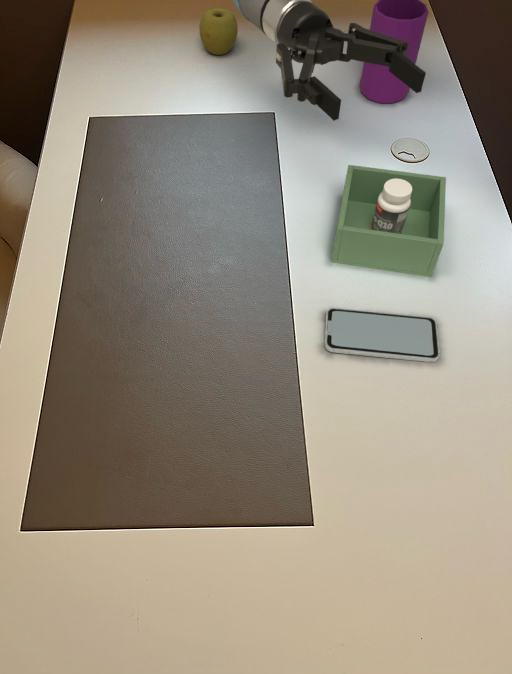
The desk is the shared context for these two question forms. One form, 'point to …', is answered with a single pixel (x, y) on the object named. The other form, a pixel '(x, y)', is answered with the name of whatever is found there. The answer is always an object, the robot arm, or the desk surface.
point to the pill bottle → (392, 206)
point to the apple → (218, 30)
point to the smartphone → (382, 334)
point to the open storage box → (384, 247)
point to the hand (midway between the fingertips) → (380, 96)
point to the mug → (401, 23)
